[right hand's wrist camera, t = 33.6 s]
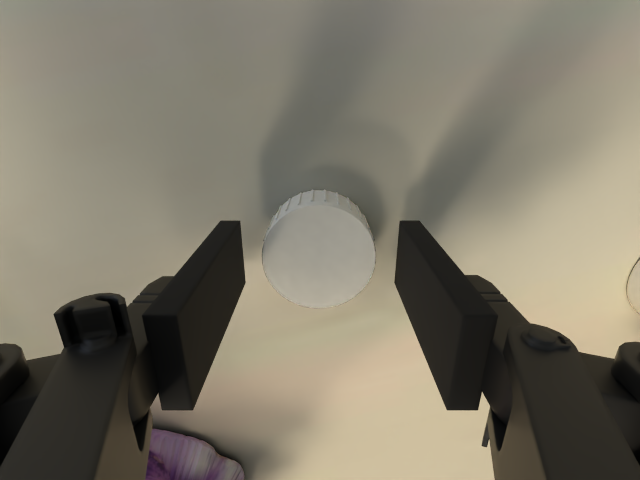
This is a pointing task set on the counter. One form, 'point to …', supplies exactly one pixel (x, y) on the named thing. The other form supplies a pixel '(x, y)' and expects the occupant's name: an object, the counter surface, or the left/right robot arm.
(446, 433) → the counter surface
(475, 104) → the counter surface
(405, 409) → the counter surface
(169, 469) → the figurine
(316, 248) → the cap
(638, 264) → the bottle
